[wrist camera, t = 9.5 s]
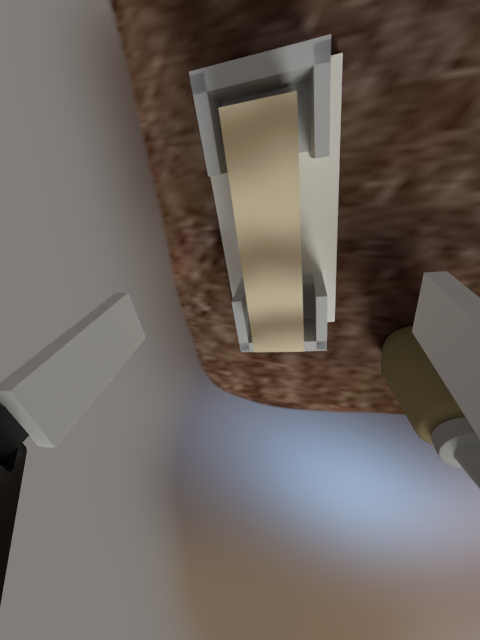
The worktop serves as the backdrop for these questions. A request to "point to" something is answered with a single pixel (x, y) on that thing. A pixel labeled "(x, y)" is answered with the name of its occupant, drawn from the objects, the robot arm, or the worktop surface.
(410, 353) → the squeeze bottle
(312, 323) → the bracket board
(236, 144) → the rail
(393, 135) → the worktop surface
